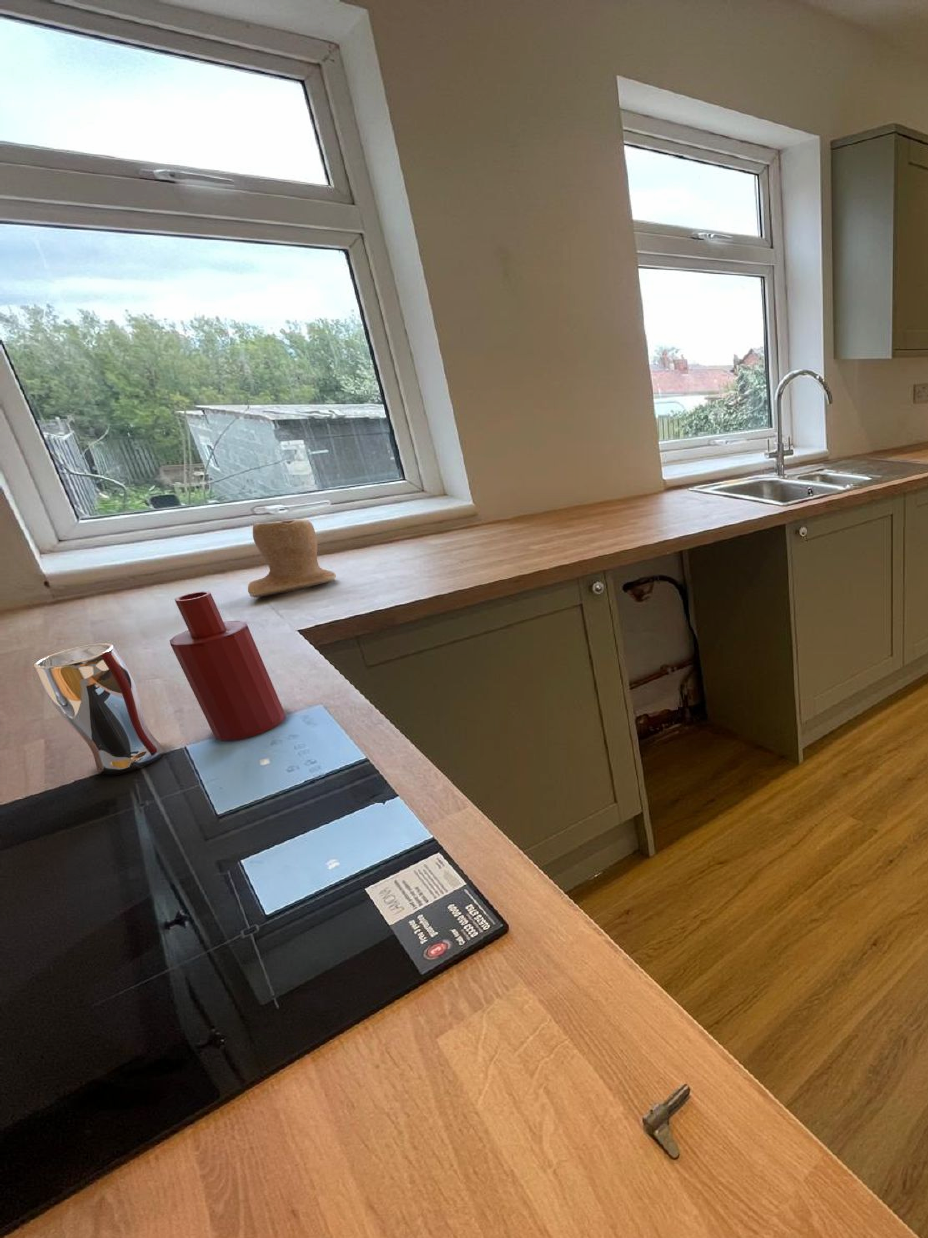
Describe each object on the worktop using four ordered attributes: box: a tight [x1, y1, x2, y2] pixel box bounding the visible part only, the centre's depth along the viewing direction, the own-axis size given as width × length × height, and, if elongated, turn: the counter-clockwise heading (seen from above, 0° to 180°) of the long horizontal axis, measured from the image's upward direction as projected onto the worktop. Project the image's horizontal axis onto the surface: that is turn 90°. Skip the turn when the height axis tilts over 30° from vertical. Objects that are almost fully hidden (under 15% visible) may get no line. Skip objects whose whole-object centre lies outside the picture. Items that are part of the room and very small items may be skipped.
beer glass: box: [33, 642, 165, 777], centre depth 82 cm, size 7×7×15 cm
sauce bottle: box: [169, 590, 286, 742], centre depth 88 cm, size 8×8×19 cm
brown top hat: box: [247, 518, 337, 598], centre depth 144 cm, size 15×12×15 cm
